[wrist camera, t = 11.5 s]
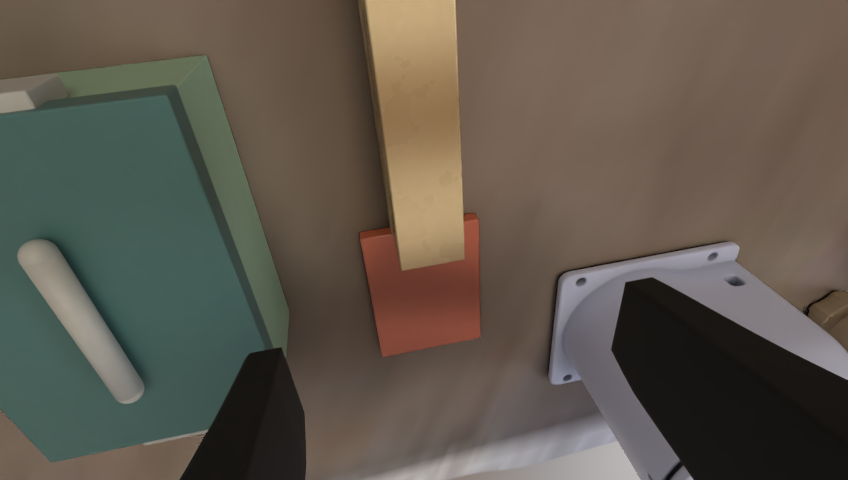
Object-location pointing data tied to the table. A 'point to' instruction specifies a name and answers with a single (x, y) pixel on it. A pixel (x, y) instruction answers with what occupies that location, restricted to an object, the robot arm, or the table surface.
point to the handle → (832, 316)
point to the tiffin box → (126, 257)
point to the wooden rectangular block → (419, 180)
